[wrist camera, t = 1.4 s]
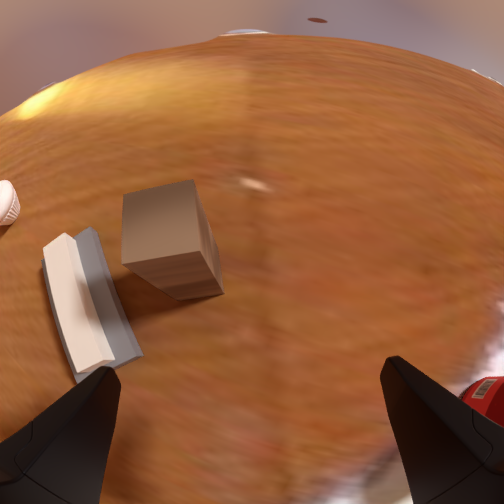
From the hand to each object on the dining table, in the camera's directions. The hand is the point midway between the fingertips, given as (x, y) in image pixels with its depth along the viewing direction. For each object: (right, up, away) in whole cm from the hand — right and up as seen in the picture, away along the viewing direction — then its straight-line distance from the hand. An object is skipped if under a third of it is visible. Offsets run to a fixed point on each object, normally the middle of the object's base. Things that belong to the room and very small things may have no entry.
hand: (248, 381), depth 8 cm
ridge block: (-15, -1, +14) cm, 21 cm away
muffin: (-32, +9, +18) cm, 38 cm away
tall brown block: (-4, +2, +15) cm, 16 cm away
